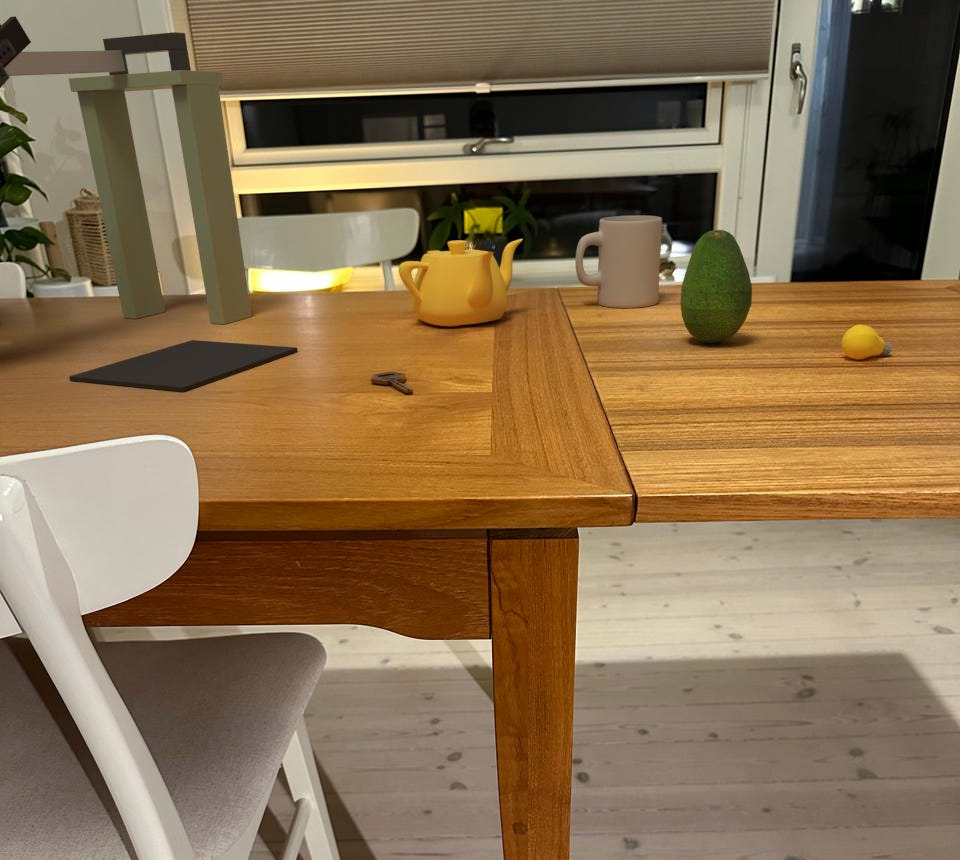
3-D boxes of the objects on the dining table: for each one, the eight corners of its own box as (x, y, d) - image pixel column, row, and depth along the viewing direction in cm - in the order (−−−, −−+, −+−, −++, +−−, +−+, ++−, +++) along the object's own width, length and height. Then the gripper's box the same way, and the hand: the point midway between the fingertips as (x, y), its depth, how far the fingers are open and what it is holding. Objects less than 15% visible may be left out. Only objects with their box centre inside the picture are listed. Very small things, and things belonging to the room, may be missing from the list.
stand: (118, 319, 137) (60, 39, 121) (157, 309, 144) (106, 42, 127) (220, 325, 130) (172, 28, 114) (256, 315, 136) (216, 32, 120)
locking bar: (-52, 78, 101) (-59, 54, 100) (112, 72, 119) (108, 51, 118) (-38, 77, 100) (-45, 52, 99) (125, 71, 119) (121, 50, 117)
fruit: (662, 342, 111) (668, 230, 105) (712, 333, 114) (721, 224, 108) (711, 353, 105) (721, 235, 99) (762, 343, 108) (774, 228, 102)
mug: (644, 296, 139) (648, 214, 134) (668, 305, 132) (672, 219, 126) (565, 302, 137) (566, 219, 131) (585, 312, 129) (587, 224, 124)
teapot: (494, 332, 119) (492, 247, 115) (395, 329, 123) (389, 246, 119) (524, 312, 131) (523, 234, 126) (432, 310, 135) (428, 234, 130)
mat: (69, 380, 104) (68, 376, 104) (193, 344, 120) (192, 339, 119) (183, 392, 98) (182, 387, 97) (297, 351, 113) (297, 347, 113)
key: (393, 395, 93) (393, 391, 92) (365, 379, 99) (365, 375, 99) (429, 390, 94) (429, 385, 94) (399, 374, 100) (398, 370, 100)
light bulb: (831, 358, 100) (837, 323, 100) (875, 368, 102) (881, 335, 102) (855, 354, 97) (861, 318, 97) (899, 365, 99) (905, 330, 99)
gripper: (-144, 193, 101) (-14, 69, 111) (-46, 192, 95) (82, 61, 105) (-202, 124, 95) (-59, -1, 105) (-101, 118, 89) (40, -13, 99)
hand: (11, 30), depth 105 cm, fingers closed on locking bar, 2 cm apart
